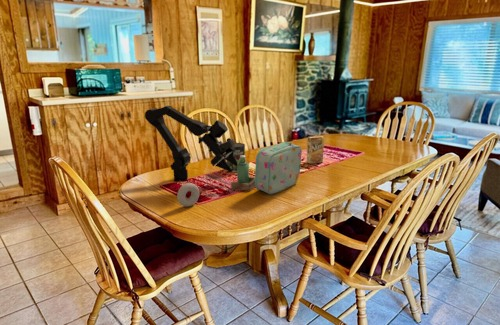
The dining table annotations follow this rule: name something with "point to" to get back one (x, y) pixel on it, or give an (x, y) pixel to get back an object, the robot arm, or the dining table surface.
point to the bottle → (243, 170)
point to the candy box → (315, 149)
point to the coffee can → (237, 155)
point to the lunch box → (277, 167)
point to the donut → (193, 197)
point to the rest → (244, 185)
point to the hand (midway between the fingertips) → (234, 168)
